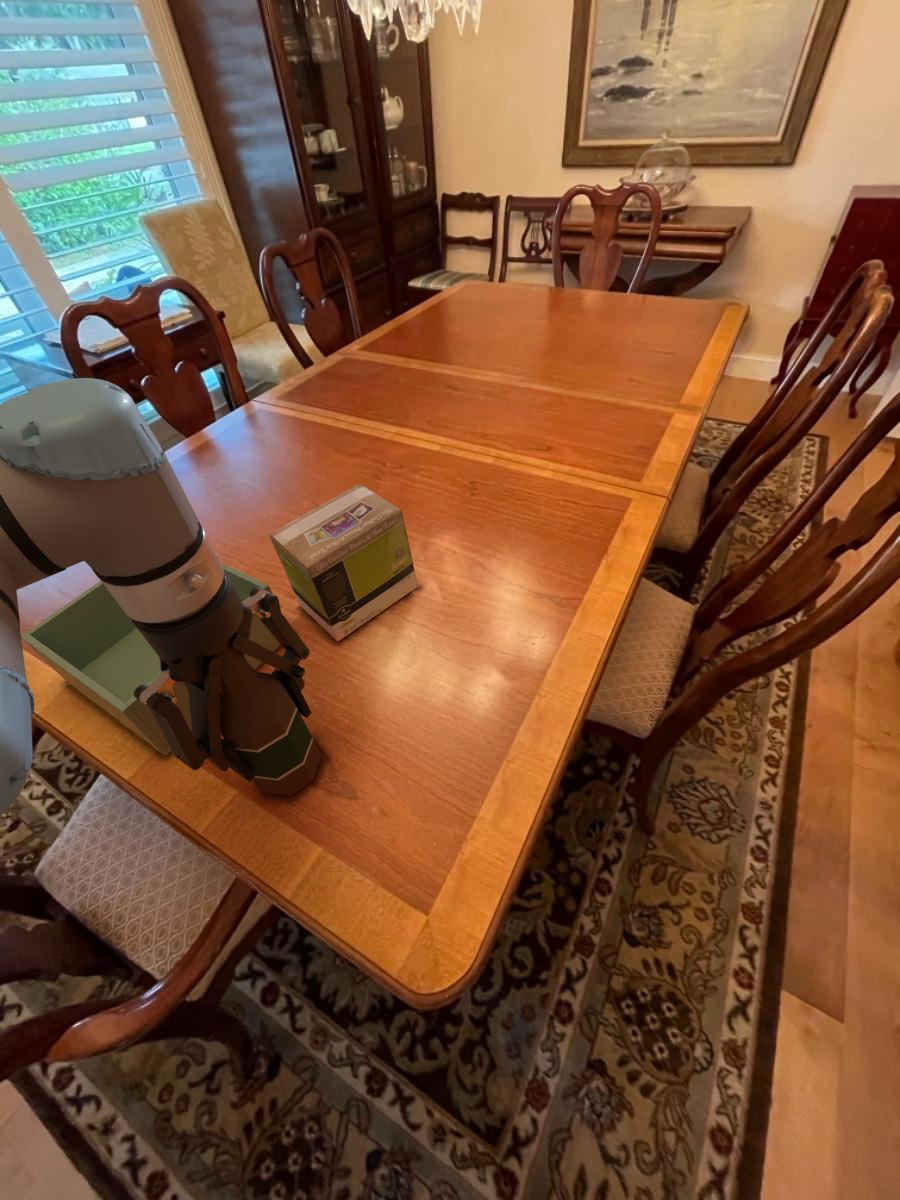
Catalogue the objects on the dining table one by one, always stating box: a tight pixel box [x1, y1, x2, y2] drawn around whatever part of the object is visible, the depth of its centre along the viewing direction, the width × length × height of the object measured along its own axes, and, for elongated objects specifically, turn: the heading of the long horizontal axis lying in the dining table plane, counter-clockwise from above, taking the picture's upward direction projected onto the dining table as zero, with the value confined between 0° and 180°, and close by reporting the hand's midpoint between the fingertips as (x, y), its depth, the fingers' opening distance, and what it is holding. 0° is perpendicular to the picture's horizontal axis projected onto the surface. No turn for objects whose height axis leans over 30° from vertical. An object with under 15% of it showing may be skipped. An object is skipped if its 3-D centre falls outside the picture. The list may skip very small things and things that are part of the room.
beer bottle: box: [204, 638, 323, 797], centre depth 53 cm, size 8×8×24 cm
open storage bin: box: [21, 562, 281, 757], centre depth 71 cm, size 22×22×10 cm
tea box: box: [268, 483, 419, 642], centre depth 74 cm, size 15×10×15 cm
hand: (272, 740), depth 57 cm, fingers closed on beer bottle, 8 cm apart
